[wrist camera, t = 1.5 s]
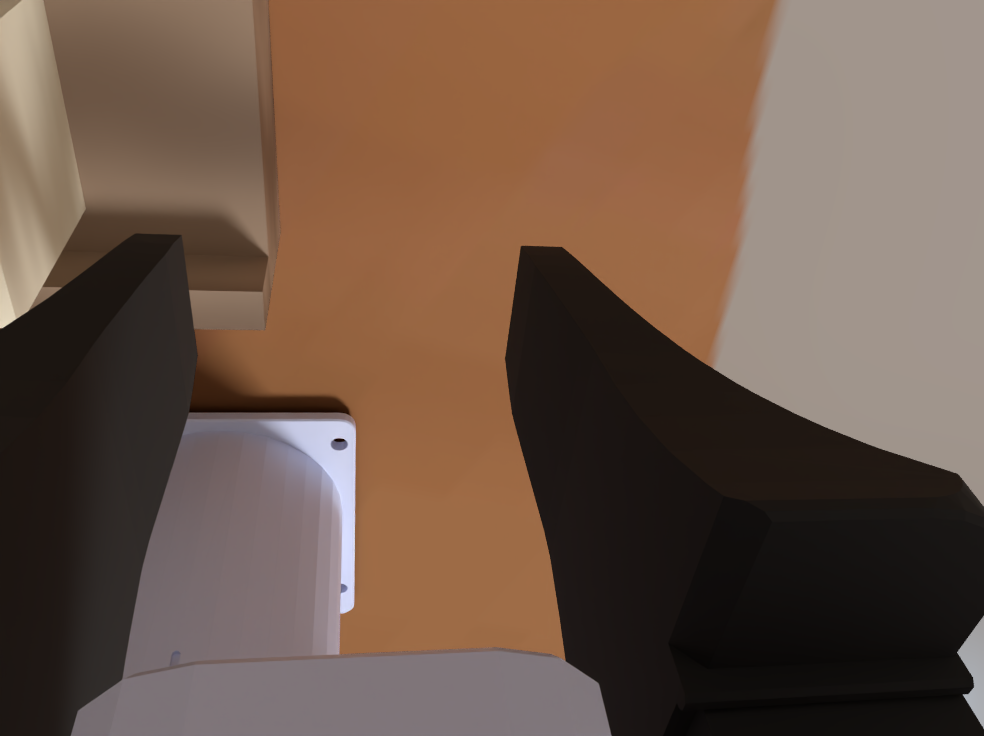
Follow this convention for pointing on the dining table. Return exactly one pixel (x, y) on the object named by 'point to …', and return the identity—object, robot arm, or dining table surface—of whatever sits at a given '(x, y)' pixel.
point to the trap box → (174, 142)
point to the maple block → (32, 158)
